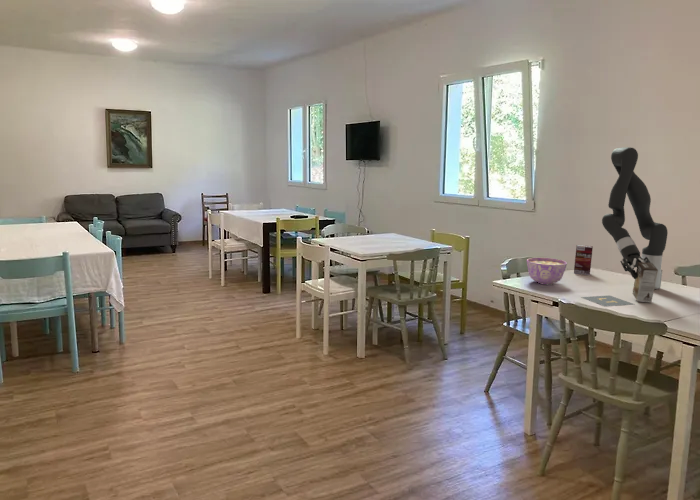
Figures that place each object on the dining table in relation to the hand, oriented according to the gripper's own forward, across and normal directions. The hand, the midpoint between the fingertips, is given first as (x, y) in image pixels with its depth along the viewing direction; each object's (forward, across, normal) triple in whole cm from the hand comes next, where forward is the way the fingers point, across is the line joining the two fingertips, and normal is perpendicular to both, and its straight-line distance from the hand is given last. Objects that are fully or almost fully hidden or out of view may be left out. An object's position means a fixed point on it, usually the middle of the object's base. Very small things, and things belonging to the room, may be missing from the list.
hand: (643, 277), depth 256 cm
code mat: (+6, -16, +10) cm, 20 cm away
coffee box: (+7, 0, +6) cm, 10 cm away
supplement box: (-32, +12, +49) cm, 60 cm away
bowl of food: (-21, -23, +37) cm, 49 cm away
